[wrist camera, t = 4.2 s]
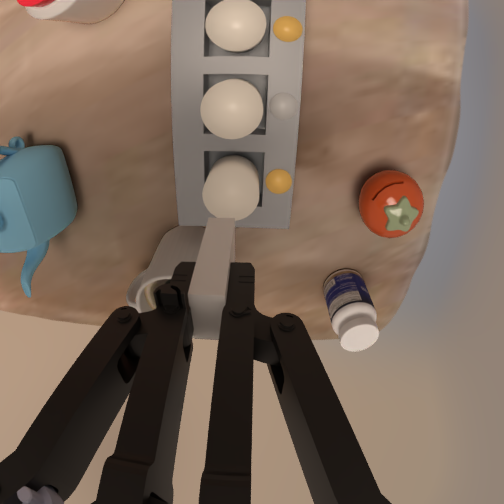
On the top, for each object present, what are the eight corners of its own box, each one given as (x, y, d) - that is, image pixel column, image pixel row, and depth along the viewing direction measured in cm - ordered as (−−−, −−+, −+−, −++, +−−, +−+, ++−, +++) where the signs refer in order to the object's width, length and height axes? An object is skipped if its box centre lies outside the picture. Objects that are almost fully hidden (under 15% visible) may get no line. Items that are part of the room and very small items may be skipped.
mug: (237, 237, 37) (231, 292, 29) (214, 293, 42) (206, 350, 34) (151, 209, 35) (121, 258, 27) (139, 269, 40) (115, 322, 32)
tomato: (393, 149, 31) (426, 174, 24) (415, 200, 34) (446, 233, 27) (339, 180, 33) (359, 212, 26) (365, 228, 36) (387, 267, 30)
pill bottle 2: (365, 291, 42) (385, 345, 34) (328, 304, 43) (340, 360, 35) (358, 261, 39) (380, 315, 31) (317, 275, 40) (330, 332, 32)
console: (188, 204, 35) (178, 226, 31) (185, -8, 22) (173, -20, 17) (285, 207, 35) (289, 230, 31) (298, -7, 22) (306, -21, 17)
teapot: (37, 251, 39) (-2, 300, 30) (0, 140, 29) (-57, 173, 20) (100, 246, 38) (62, 304, 29) (64, 116, 28) (1, 145, 19)
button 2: (211, 53, 23) (204, 50, 20) (213, 7, 21) (206, -2, 17) (263, 53, 23) (265, 51, 20) (265, 7, 21) (267, -2, 17)
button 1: (209, 200, 29) (203, 220, 26) (208, 154, 27) (201, 168, 24) (257, 201, 29) (257, 221, 26) (259, 155, 27) (260, 169, 24)
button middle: (208, 129, 26) (200, 139, 22) (208, 78, 23) (200, 80, 20) (261, 129, 26) (261, 140, 22) (263, 79, 23) (264, 80, 20)
